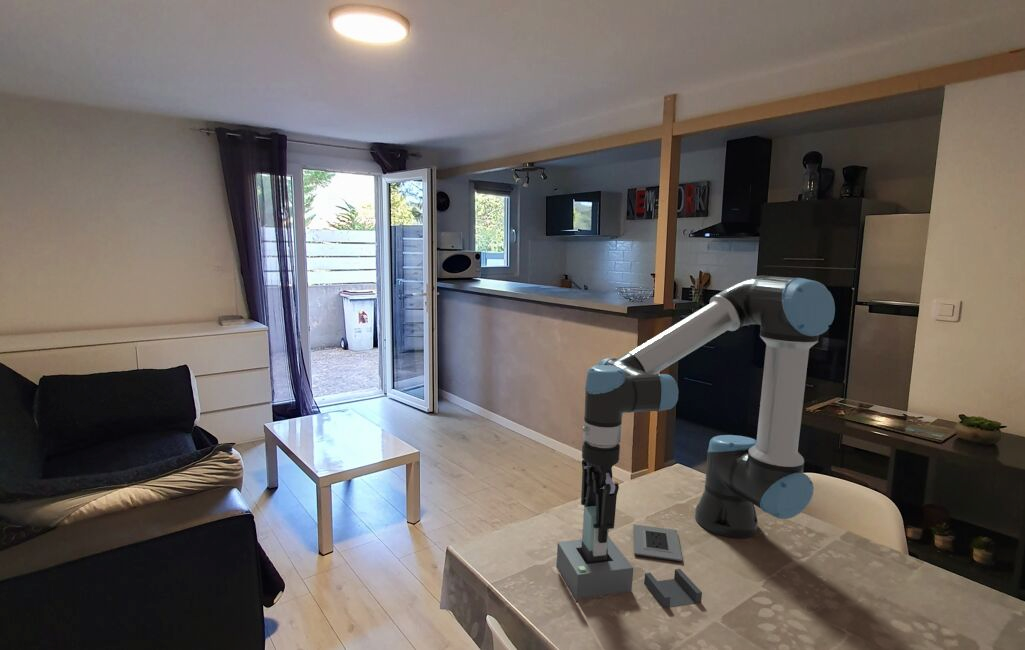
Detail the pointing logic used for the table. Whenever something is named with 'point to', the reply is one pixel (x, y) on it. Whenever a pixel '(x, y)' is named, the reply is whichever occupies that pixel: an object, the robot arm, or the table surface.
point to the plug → (590, 535)
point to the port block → (593, 571)
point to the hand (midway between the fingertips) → (594, 547)
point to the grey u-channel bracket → (674, 590)
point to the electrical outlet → (656, 543)
